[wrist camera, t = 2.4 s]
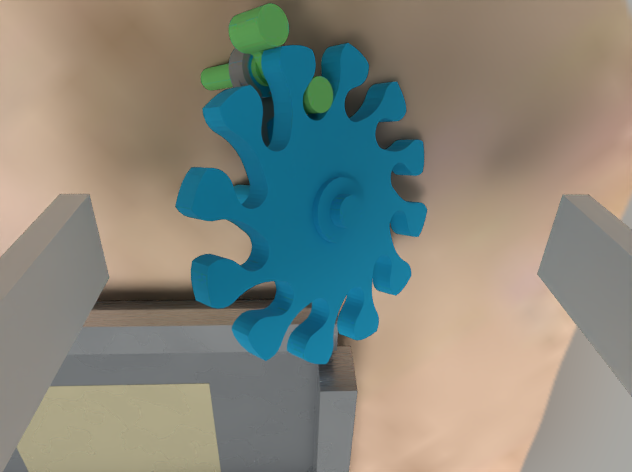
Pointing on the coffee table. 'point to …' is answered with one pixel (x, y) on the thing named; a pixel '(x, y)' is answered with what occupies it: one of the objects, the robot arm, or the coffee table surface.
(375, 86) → the gear
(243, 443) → the gray metal tray
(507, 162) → the coffee table surface
